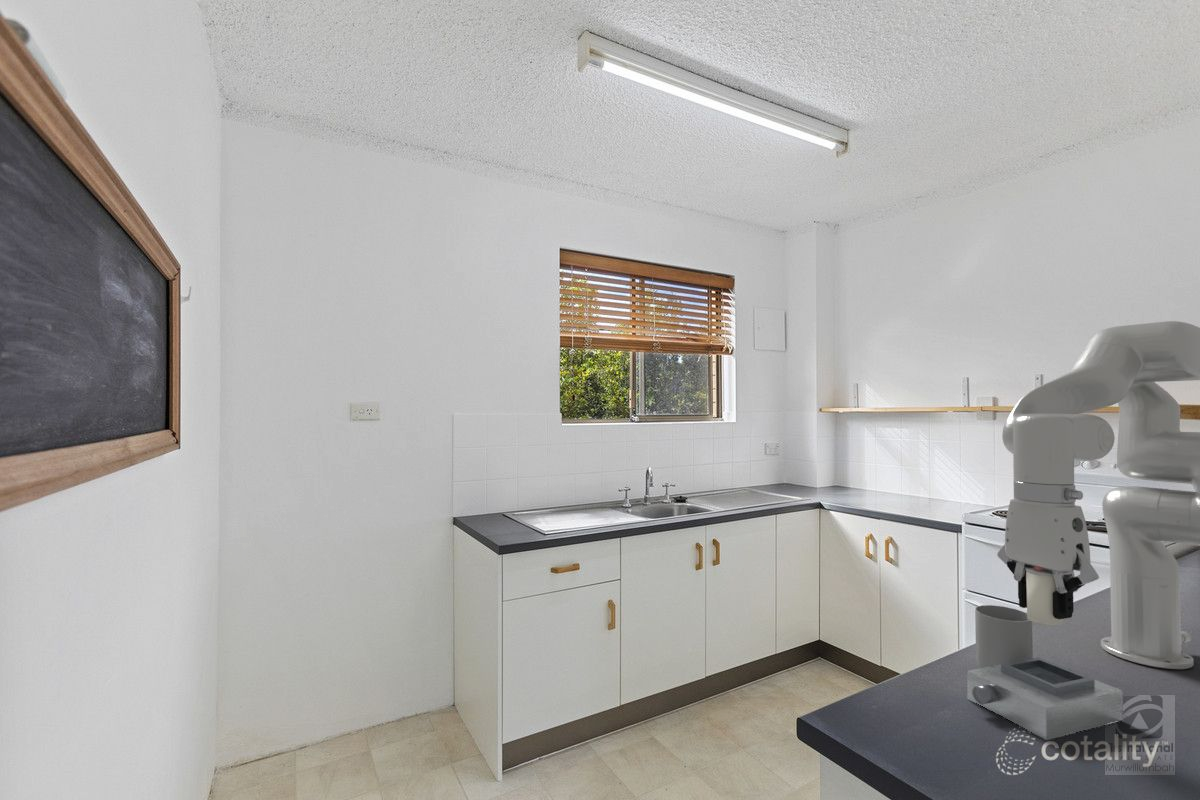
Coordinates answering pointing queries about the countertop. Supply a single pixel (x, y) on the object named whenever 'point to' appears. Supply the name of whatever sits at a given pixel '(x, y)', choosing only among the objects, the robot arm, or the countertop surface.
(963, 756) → the countertop surface
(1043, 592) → the cream white cylinder
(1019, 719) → the grey holder block
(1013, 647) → the cup
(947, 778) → the countertop surface
